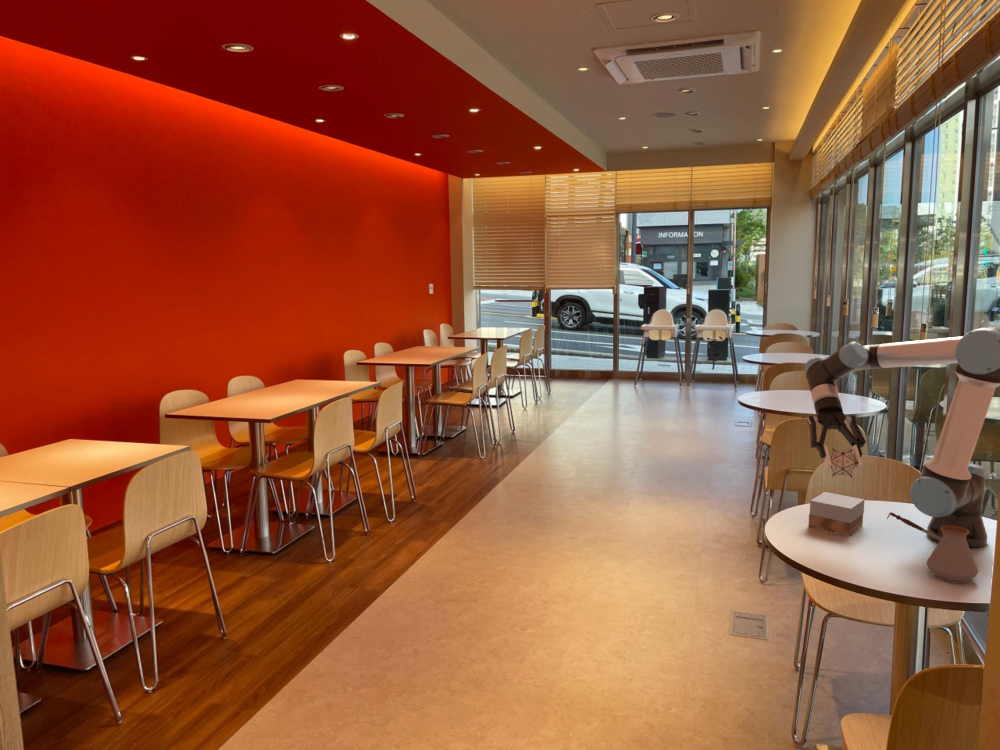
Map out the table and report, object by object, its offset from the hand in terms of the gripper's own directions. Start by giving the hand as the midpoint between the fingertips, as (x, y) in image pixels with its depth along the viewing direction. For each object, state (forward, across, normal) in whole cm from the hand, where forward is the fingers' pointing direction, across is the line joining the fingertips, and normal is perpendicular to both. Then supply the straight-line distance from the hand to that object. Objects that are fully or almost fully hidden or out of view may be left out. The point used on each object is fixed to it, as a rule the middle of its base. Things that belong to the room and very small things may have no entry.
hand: (844, 466), depth 215 cm
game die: (0, -1, -5) cm, 5 cm away
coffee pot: (+32, -14, -1) cm, 35 cm away
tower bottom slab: (+7, -3, -26) cm, 27 cm away
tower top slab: (+4, -3, -23) cm, 23 cm away
